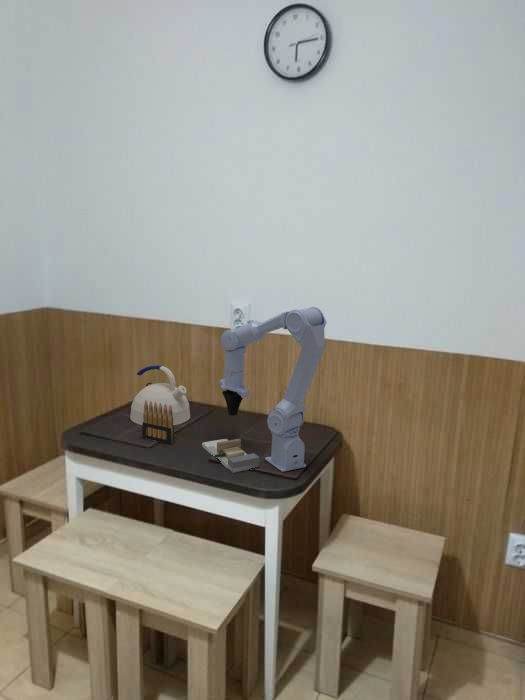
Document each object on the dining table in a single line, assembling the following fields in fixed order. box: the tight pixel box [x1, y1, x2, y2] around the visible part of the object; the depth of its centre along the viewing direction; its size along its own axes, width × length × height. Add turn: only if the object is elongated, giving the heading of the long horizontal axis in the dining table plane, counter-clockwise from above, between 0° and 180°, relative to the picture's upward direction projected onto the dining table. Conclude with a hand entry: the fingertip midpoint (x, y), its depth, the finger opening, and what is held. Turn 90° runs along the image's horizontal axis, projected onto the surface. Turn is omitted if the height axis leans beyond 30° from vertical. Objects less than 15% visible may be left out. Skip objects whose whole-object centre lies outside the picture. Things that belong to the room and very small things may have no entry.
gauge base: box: [201, 438, 260, 474], centre depth 152 cm, size 20×8×3 cm, turn 30°
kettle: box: [129, 365, 191, 426], centre depth 182 cm, size 20×21×18 cm
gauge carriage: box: [214, 438, 245, 458], centre depth 150 cm, size 5×9×3 cm, turn 120°
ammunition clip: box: [141, 400, 176, 446], centre depth 161 cm, size 11×2×12 cm, turn 65°
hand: (232, 414), depth 160 cm, fingers closed
